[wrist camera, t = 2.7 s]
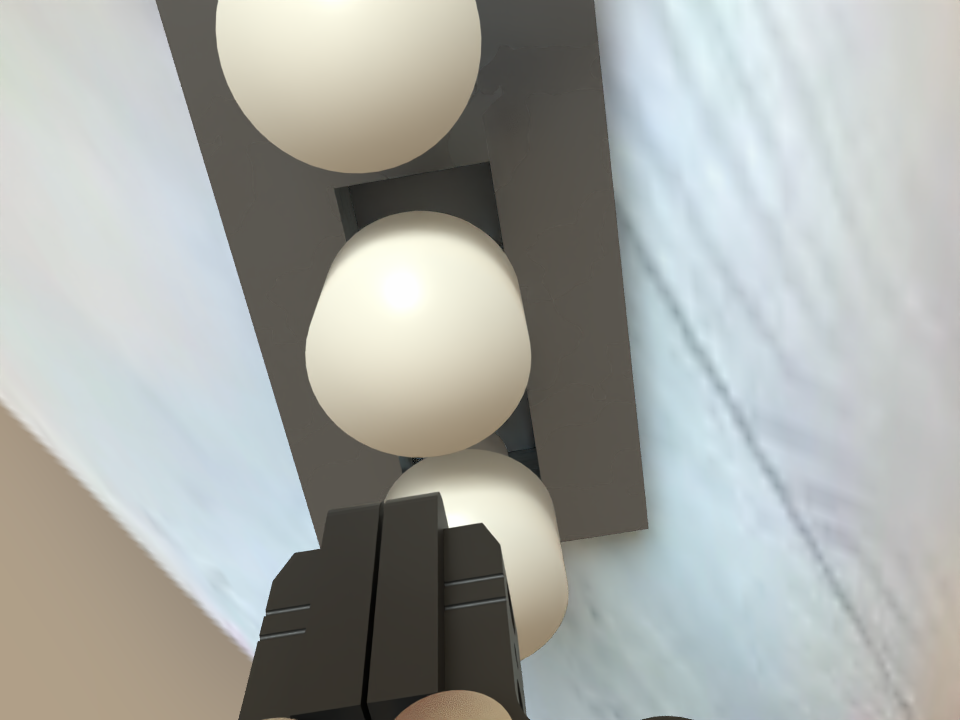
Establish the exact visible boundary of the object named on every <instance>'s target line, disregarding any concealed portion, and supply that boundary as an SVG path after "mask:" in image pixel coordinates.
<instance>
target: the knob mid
mask: <svg viewBox="0 0 960 720" xmlns="http://www.w3.org/2000/svg"><path fill="white" fill-rule="evenodd" d="M305 356H306V368H307V373H308V378H309V382H310V384H311V387H312V390H313V393H314V394H315V396H316V398H317V400H318V402H319V404H320V405H321V407H322V408H323V410H324V411H325V413H326V414H327V415H328V416H329V417H330V419H331V420H332V421H333V422H334V423H335V424H336V425H337V426H338V427H339V428H341V429H342V430H343V431H344V432H345V433H347V434H348V435H349V436H351V437H353V438H354V439H356V440H357V441H359V442H361V443H363V444H365V445H367V446H369V447H371V448H373V449H376V450H379V451H382V452H385V453H389V454H393V455H397V456H405V457H435V456H442V455H447V454H451V453H455V452H458V451H461V450H464V449H466V448H469V447H471V446H473V445H475V444H477V443H479V442H480V441H482V440H484V439H485V438H487V437H488V436H490V435H491V434H492V433H494V432H495V431H496V430H497V429H498V428H500V427H501V426H502V425H503V424H504V422H505V421H506V420H507V419H508V418H509V417H510V416H511V414H512V413H513V412H514V410H515V409H516V407H517V406H518V404H519V402H520V400H521V398H522V396H523V394H524V392H525V389H526V386H527V383H528V379H529V374H530V369H531V347H530V340H529V334H528V329H527V324H526V319H525V314H524V308H523V303H522V298H521V293H520V288H519V284H518V279H517V276H516V274H515V271H514V269H513V266H512V265H511V263H510V261H509V259H508V257H507V256H506V254H505V253H504V252H503V250H502V249H501V248H500V246H499V245H498V244H497V243H496V242H495V241H494V240H493V239H492V238H491V237H490V236H489V235H487V234H486V233H485V232H483V231H482V230H481V229H479V228H478V227H476V226H474V225H473V224H471V223H469V222H467V221H465V220H463V219H460V218H458V217H455V216H452V215H448V214H444V213H439V212H432V211H410V212H402V213H397V214H393V215H389V216H387V217H384V218H381V219H379V220H376V221H375V222H373V223H371V224H369V225H367V226H365V227H364V228H363V229H361V230H360V231H359V232H357V233H356V234H355V235H354V236H353V237H351V238H350V239H349V240H348V241H347V242H346V243H345V245H344V246H343V247H342V248H341V250H340V251H339V252H338V254H337V256H336V257H335V259H334V261H333V262H332V264H331V267H330V269H329V272H328V274H327V277H326V280H325V283H324V286H323V289H322V292H321V295H320V298H319V301H318V304H317V307H316V309H315V312H314V315H313V318H312V321H311V324H310V327H309V331H308V336H307V340H306V351H305Z"/></svg>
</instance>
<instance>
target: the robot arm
mask: <svg viewBox="0 0 960 720" xmlns="http://www.w3.org/2000/svg"><path fill="white" fill-rule="evenodd" d="M238 720H530V719H529V718H528V717H527V715H526V706H525V697H524V690H523V680H522V671H521V664H520V653H519V644H518V635H517V629H516V623H515V618H514V613H513V608H512V602H511V597H510V592H509V587H508V581H507V576H506V571H505V566H504V561H503V555H502V550H501V545H500V543H499V542H498V541H497V540H496V538H495V537H494V536H493V535H492V534H491V532H490V531H489V530H488V529H487V528H486V526H485V525H484V524H483V523H476V524H470V525H464V526H458V527H452V528H449V526H448V522H447V517H446V513H445V508H444V504H443V500H442V497H441V494H440V492H433V493H427V494H421V495H414V496H408V497H402V498H396V499H390V500H386V502H385V503H384V502H383V501H379V502H373V503H366V504H360V505H354V506H348V507H342V508H336V509H330V510H329V511H328V513H327V517H326V522H325V528H324V533H323V539H322V544H321V549H316V550H310V551H304V552H298V553H294V554H293V556H292V557H291V558H290V560H289V561H288V562H287V563H286V565H285V566H284V567H283V569H282V570H281V571H280V572H279V574H278V575H277V576H276V578H275V579H274V580H273V582H272V587H271V591H270V595H269V599H268V603H267V607H266V616H264V619H263V623H262V627H261V631H260V641H258V643H257V647H256V651H255V655H254V659H253V663H252V667H251V671H250V675H249V679H248V683H247V688H246V691H245V696H244V699H243V704H242V707H241V711H240V715H239V719H238ZM642 720H692V719H687V718H683V717H674V716H658V717H651V718H646V719H642Z"/></svg>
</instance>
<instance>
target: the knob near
mask: <svg viewBox="0 0 960 720" xmlns="http://www.w3.org/2000/svg"><path fill="white" fill-rule="evenodd" d="M216 39H217V49H218V54H219V58H220V63H221V67H222V70H223V73H224V76H225V79H226V82H227V84H228V86H229V88H230V90H231V92H232V94H233V96H234V98H235V100H236V102H237V103H238V105H239V107H240V108H241V110H242V111H243V113H244V114H245V116H246V117H247V118H248V119H249V120H250V122H251V123H252V124H253V125H254V127H255V128H256V129H257V130H258V131H259V132H260V133H261V134H262V135H264V136H265V137H266V138H267V139H268V140H269V141H270V142H271V143H273V144H274V145H275V146H277V147H278V148H279V149H281V150H282V151H284V152H285V153H287V154H289V155H291V156H292V157H294V158H296V159H298V160H300V161H302V162H305V163H307V164H309V165H312V166H315V167H318V168H322V169H325V170H329V171H336V172H342V173H369V172H378V171H382V170H386V169H391V168H394V167H397V166H399V165H402V164H404V163H407V162H409V161H411V160H413V159H415V158H417V157H418V156H420V155H422V154H423V153H425V152H426V151H428V150H429V149H430V148H432V147H433V146H434V145H436V144H437V143H438V142H439V141H440V140H441V139H442V138H443V137H444V136H445V135H446V134H447V133H448V132H449V130H450V129H451V128H452V127H453V125H454V124H455V123H456V122H457V120H458V119H459V117H460V115H461V114H462V112H463V110H464V109H465V107H466V105H467V103H468V101H469V98H470V96H471V94H472V92H473V89H474V85H475V82H476V78H477V75H478V70H479V64H480V57H481V29H480V19H479V15H478V10H477V6H476V1H475V0H218V5H217V11H216Z"/></svg>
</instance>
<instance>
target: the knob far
mask: <svg viewBox="0 0 960 720" xmlns="http://www.w3.org/2000/svg"><path fill="white" fill-rule="evenodd" d="M433 492H440V494H441V497H442V500H443V504H444V508H445V513H446V517H447V522H448V526H449V528H452V527H458V526H464V525H470V524H476V523H483V524H484V525H485V526H486V528H487V529H488V530H489V531H490V532H491V534H492V535H493V536H494V537H495V538H496V540H497V541H498V542H499V543H500V545H501V550H502V555H503V561H504V566H505V571H506V576H507V581H508V587H509V592H510V597H511V602H512V608H513V613H514V618H515V623H516V629H517V635H518V644H519V653H520V661H521V660H523V659H525V658H526V657H528V656H530V655H532V654H533V653H534V652H536V651H537V650H538V649H540V648H541V647H542V646H543V645H544V644H545V643H546V642H548V641H549V639H550V638H551V637H552V636H553V635H554V633H555V632H556V631H557V629H558V627H559V626H560V624H561V622H562V620H563V617H564V615H565V612H566V608H567V604H568V582H567V577H566V571H565V565H564V560H563V554H562V549H561V543H560V538H559V532H558V526H557V521H556V515H555V510H554V506H553V502H552V499H551V497H550V494H549V492H548V490H547V489H546V487H545V485H544V484H543V483H542V481H541V480H540V479H539V478H538V477H537V475H535V474H534V473H533V472H532V471H531V470H530V469H529V468H527V467H526V466H524V465H523V464H522V463H520V462H518V461H516V460H514V459H512V458H510V457H509V456H508V451H507V448H506V446H505V444H504V442H503V440H502V439H501V438H500V437H499V436H498V435H497V434H496V433H495V432H494V433H492V434H491V435H490V436H488V437H487V438H485V439H484V440H482V441H480V442H479V443H477V444H475V445H473V446H471V447H469V448H466V449H464V450H461V451H458V452H455V453H451V454H447V455H442V456H435V457H423V460H422V461H420V462H418V463H417V464H415V465H413V466H412V467H410V468H409V469H408V470H407V471H406V472H404V473H403V474H402V475H401V476H400V477H399V478H398V479H397V480H396V482H395V483H394V484H393V486H392V487H391V489H390V490H389V492H388V494H387V496H386V498H385V500H384V503H385V502H386V500H390V499H396V498H402V497H408V496H414V495H421V494H427V493H433Z"/></svg>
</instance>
